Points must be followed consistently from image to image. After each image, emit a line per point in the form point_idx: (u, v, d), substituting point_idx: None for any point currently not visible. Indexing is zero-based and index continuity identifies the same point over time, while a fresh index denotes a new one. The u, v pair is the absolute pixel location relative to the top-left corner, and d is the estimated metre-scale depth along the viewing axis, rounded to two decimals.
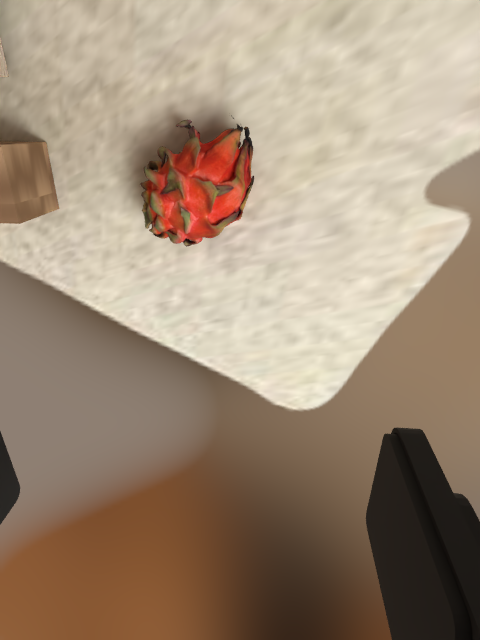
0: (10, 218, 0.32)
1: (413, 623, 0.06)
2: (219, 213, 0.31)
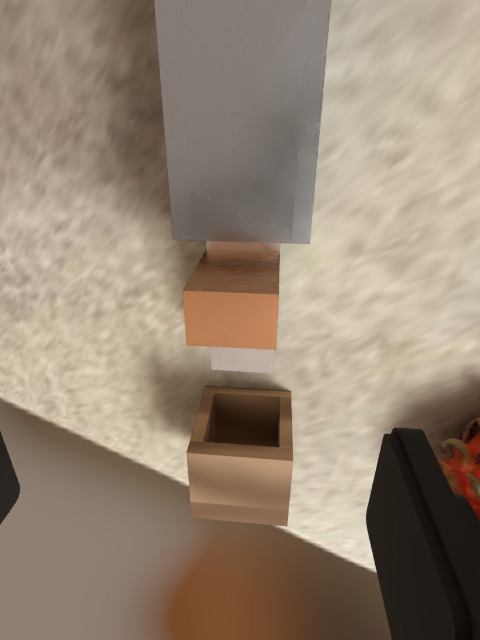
0: (276, 521, 0.25)
1: (413, 623, 0.06)
2: None
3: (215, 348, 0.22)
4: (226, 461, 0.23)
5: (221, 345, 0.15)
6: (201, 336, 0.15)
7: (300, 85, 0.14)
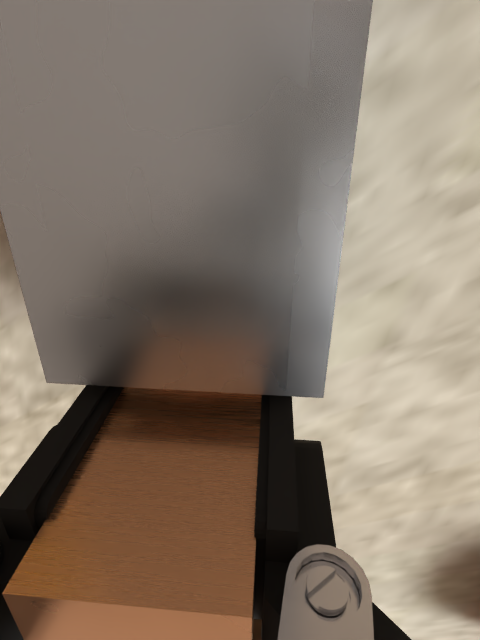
0: None
1: None
2: None
3: None
4: None
5: None
6: None
7: (305, 63, 0.06)
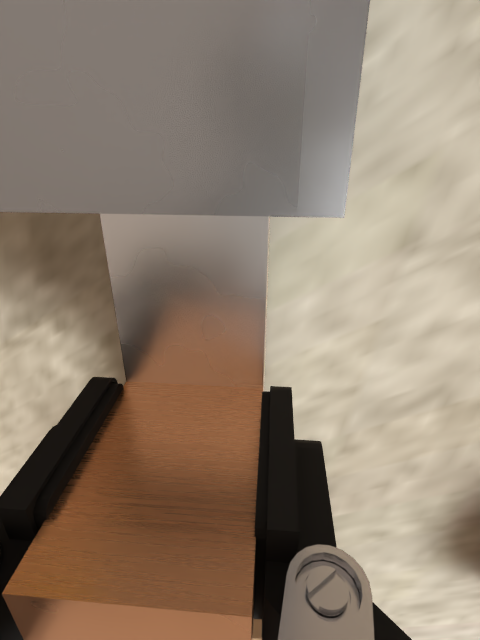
0: None
1: None
2: None
3: None
4: None
5: None
6: None
7: None
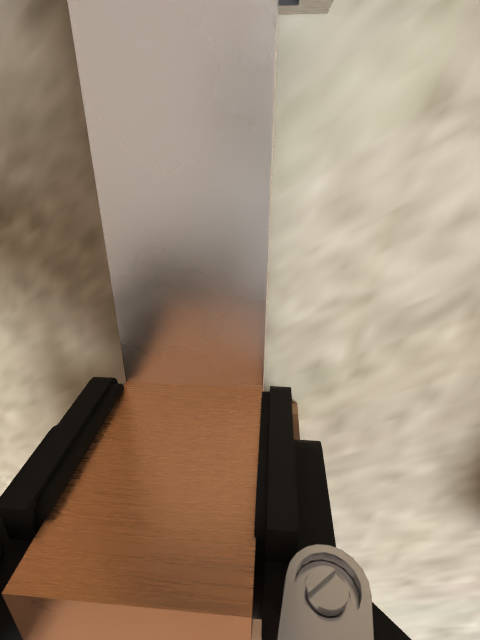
0: None
1: None
2: None
3: None
4: None
5: None
6: None
7: None
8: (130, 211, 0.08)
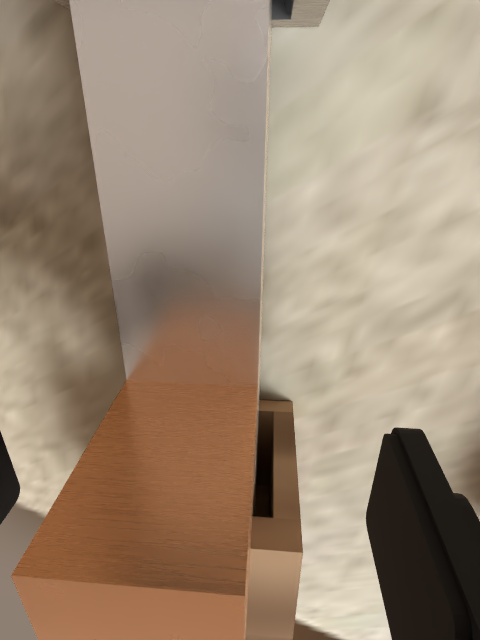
0: None
1: (413, 623, 0.06)
2: None
3: None
4: None
5: None
6: None
7: None
8: (131, 217, 0.09)
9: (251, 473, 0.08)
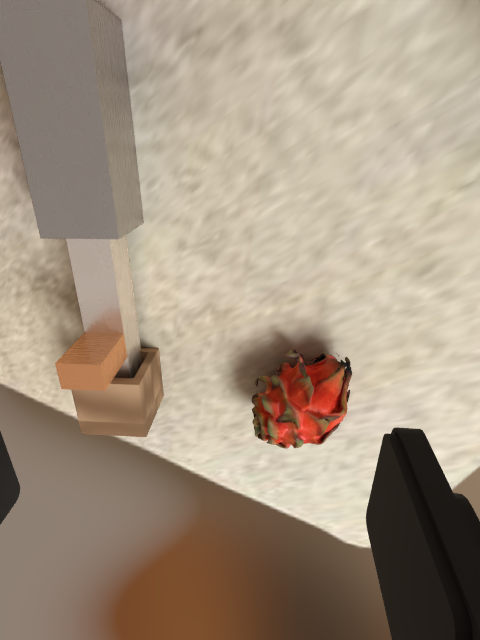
0: (138, 433, 0.37)
1: (413, 623, 0.06)
2: (324, 432, 0.36)
3: None
4: None
5: (78, 388, 0.31)
6: (68, 384, 0.31)
7: (95, 152, 0.27)
8: (83, 286, 0.33)
9: (111, 350, 0.32)
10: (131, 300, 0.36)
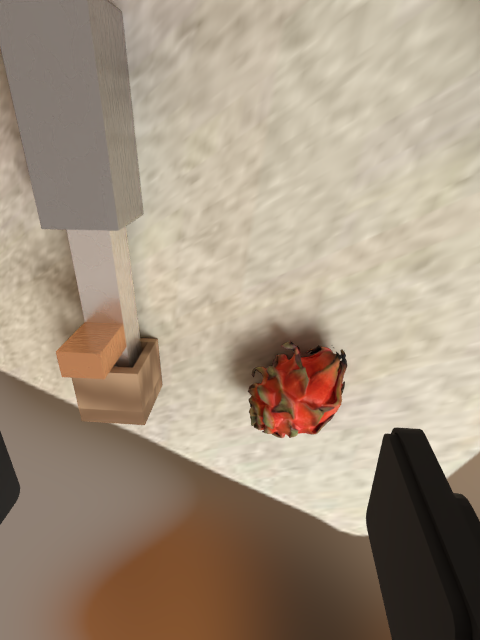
0: (137, 421, 0.38)
1: (413, 623, 0.06)
2: (319, 422, 0.37)
3: None
4: None
5: (78, 377, 0.32)
6: (68, 372, 0.31)
7: (95, 144, 0.27)
8: (83, 276, 0.33)
9: (110, 339, 0.32)
10: (131, 291, 0.37)
